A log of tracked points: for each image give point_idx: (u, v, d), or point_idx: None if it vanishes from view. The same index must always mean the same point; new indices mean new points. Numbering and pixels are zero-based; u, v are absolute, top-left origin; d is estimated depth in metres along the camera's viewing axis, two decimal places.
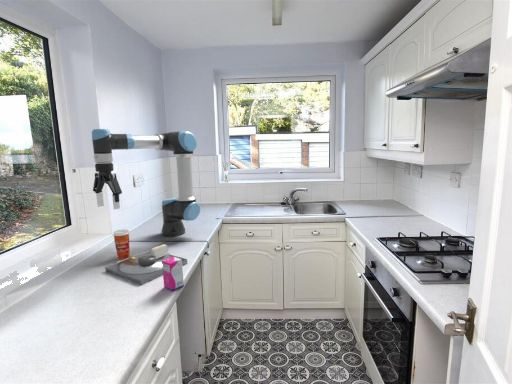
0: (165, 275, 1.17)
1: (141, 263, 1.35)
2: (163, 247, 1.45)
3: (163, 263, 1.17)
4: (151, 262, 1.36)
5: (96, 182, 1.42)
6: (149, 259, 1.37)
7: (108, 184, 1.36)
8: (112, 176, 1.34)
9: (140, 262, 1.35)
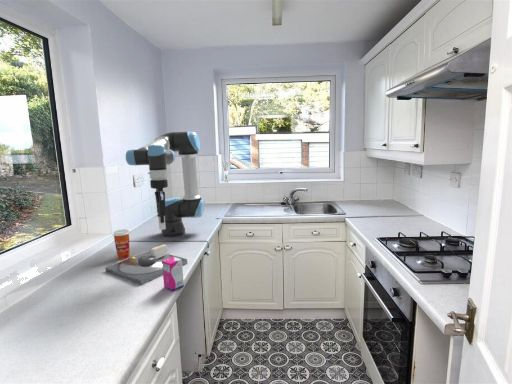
0: (165, 275, 1.17)
1: (141, 263, 1.35)
2: (163, 247, 1.45)
3: (163, 263, 1.17)
4: (151, 262, 1.36)
5: (157, 201, 1.39)
6: (149, 259, 1.37)
7: (158, 202, 1.35)
8: (160, 199, 1.30)
9: (140, 262, 1.35)
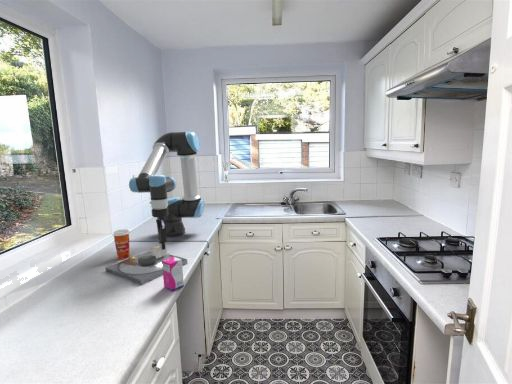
0: (165, 275, 1.17)
1: (141, 263, 1.35)
2: None
3: (163, 263, 1.17)
4: (151, 262, 1.37)
5: (158, 228, 1.45)
6: (149, 259, 1.37)
7: (159, 230, 1.40)
8: (162, 228, 1.36)
9: (140, 262, 1.35)
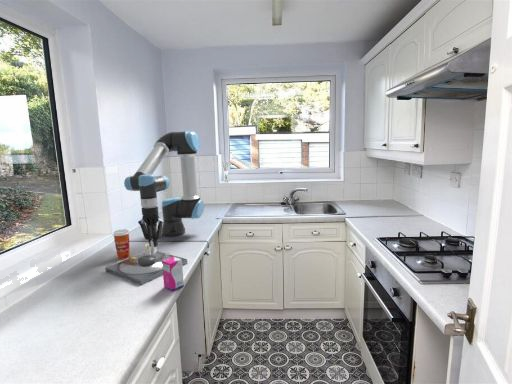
0: (165, 275, 1.17)
1: (149, 262, 1.36)
2: (149, 246, 1.47)
3: (163, 263, 1.17)
4: (155, 259, 1.40)
5: (144, 228, 1.45)
6: (152, 257, 1.39)
7: (152, 228, 1.43)
8: (161, 223, 1.43)
9: (147, 262, 1.35)
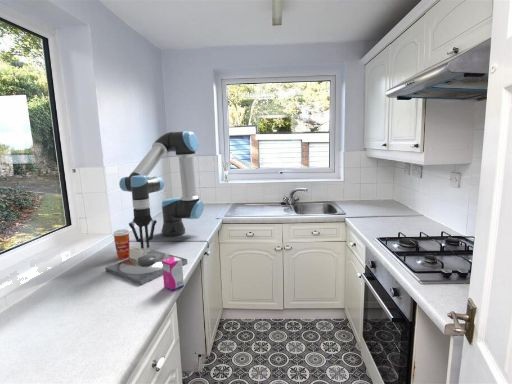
0: (165, 275, 1.17)
1: (154, 260, 1.38)
2: None
3: (163, 263, 1.17)
4: None
5: (135, 231, 1.42)
6: (151, 256, 1.41)
7: (146, 229, 1.43)
8: None
9: (153, 260, 1.37)
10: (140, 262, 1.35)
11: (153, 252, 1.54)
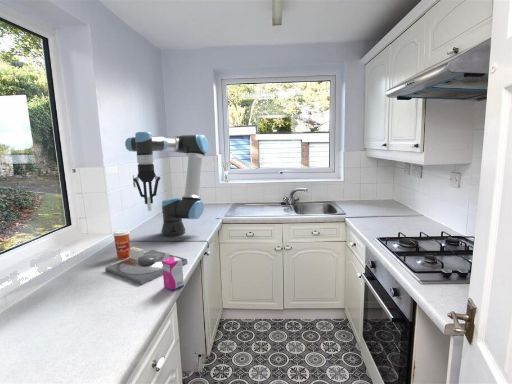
0: (165, 275, 1.17)
1: (154, 260, 1.38)
2: None
3: (163, 263, 1.17)
4: None
5: (139, 186, 1.46)
6: (151, 256, 1.41)
7: (150, 185, 1.48)
8: (159, 179, 1.50)
9: (153, 260, 1.37)
10: (140, 262, 1.35)
11: (153, 252, 1.54)
